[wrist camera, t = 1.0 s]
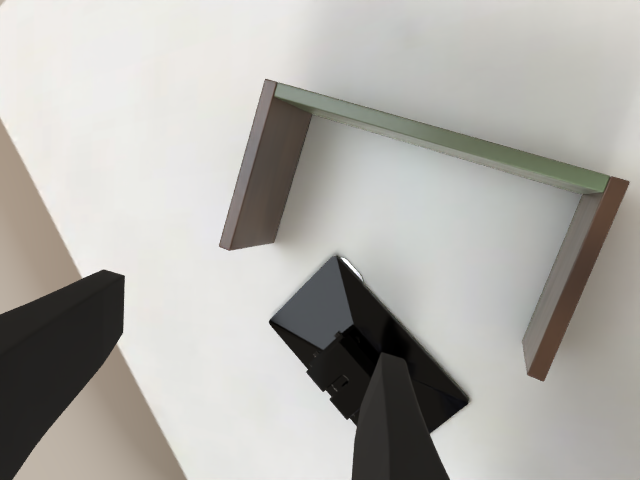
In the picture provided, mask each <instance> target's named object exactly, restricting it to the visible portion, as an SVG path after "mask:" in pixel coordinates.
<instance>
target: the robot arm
mask: <svg viewBox="0 0 640 480" xmlns="http://www.w3.org/2000/svg"><path fill="white" fill-rule="evenodd" d="M124 283H125V276H124V275H121V274H117V273H114V272H111V271H107V270H101V271H99V272H96V273H94V274H92V275H90V276H87V277H85V278H83V279H81V280H79V281H77V282H74V283H72V284H70V285H68V286H66V287H64V288H62V289H59V290H57V291H55V292H52V293H50V294H48V295H46V296H43V297H41V298H39V299H37V300H35V301H32V302H30V303H28V304H25V305H23V306H20V307H18V308H15V309H13V310H10V311H8V312H5V313H3V314H0V480H12V479H13V478H14V476H15V475H16V474H17V472H18V471H19V469H20V468H21V466H22V465H23V463H24V462H25V460H26V459H27V457H28V456H29V455H30V453H31V452H32V450H33V449H34V447H35V446H36V445H37V443H38V442H39V441H40V440H41V438H42V437H43V436H44V434H45V433H46V432H47V430H48V429H49V428H50V427H51V426H52V424H53V423H54V422H55V421H56V420H57V418H58V417H59V416H60V415H61V414H62V412H63V411H64V410H65V409H66V408H67V407H68V406H69V404H70V403H71V402H72V401H73V400H74V398H75V397H76V396H77V395H78V394H79V392H80V391H81V390H82V389H83V388H84V386H85V385H86V384H87V383H88V382H89V380H90V379H91V378H92V377H93V376H94V374H95V373H96V372H97V371H98V369H99V368H100V367H101V366H102V365H103V363H104V362H105V360H106V359H107V357H108V356H109V354H110V352H111V351H112V350H113V348H114V346H115V345H116V343H117V342H118V340H119V338H120V337H121V335H122V334H123V319H124ZM352 480H450V479H449V477H448V475H447V473H446V470H445V468H444V466H443V464H442V462H441V460H440V457H439V455H438V453H437V451H436V448H435V446H434V444H433V441H432V439H431V437H430V434H429V432H428V429H427V426H426V424H425V421H424V418H423V416H422V413H421V410H420V407H419V404H418V401H417V398H416V395H415V392H414V389H413V386H412V382H411V379H410V375H409V371H408V368H407V363H406V362H405V360H404V359H403V358H399V357H396V356H393V355H389V354H386V353H383V352H381V355H380V357H379V360H378V363H377V365H376V368H375V370H374V373H373V375H372V378H371V381H370V383H369V386H368V388H367V391H366V393H365V396H364V399H363V401H362V404H361V408H360V413H359V419H358V424H357V430H356V435H355V441H354V454H353V468H352Z"/></svg>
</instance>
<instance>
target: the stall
mask: <svg viewBox="0 0 640 480" xmlns="http://www.w3.org/2000/svg"><path fill="white" fill-rule="evenodd" d="M312 114H313V115H316V116H319V117H323V118H326V119H329V120H333V121H336V122H339V123H343V124H346V125H349V126H353V127H356V128H360V129H363V130H366V131H370V132H373V133H376V134H380V135H383V136H386V137H390V138H393V139H397V140H400V141H403V142H407V143H410V144H413V145H417V146H420V147H423V148H427V149H430V150H434V151H437V152H440V153H444V154H447V155H450V156H454V157H457V158H460V159H464V160H467V161H470V162H474V163H477V164H481V165H484V166H487V167H491V168H494V169H497V170H501V171H504V172H507V173H511V174H514V175H518V176H521V177H524V178H528V179H531V180H534V181H538V182H541V183H544V184H548V185H551V186H555V187H558V188H561V189H565V190H568V191H571V192H575V193H578V194H583V195H582V198H581V200H580V202H579V205H578V207H577V210H576V212H575V214H574V217H573V219H572V222H571V224H570V227H569V229H568V231H567V234H566V236H565V239H564V241H563V243H562V246H561V248H560V251H559V253H558V255H557V258H556V260H555V263H554V265H553V268H552V270H551V272H550V275H549V277H548V280H547V282H546V284H545V287H544V289H543V292H542V294H541V297H540V299H539V301H538V304H537V306H536V309H535V311H534V313H533V316H532V318H531V321H530V323H529V326H528V328H527V330H526V333H525V335H524V338H523V340H522V344H523V350H524V357H525V363H526V370H527V375H528V376H531V377H533V378H536V379H538V380H540V381H544V380H545V378H546V376H547V373H548V371H549V369H550V366H551V364H552V362H553V359H554V357H555V355H556V353H557V350H558V348H559V346H560V343H561V341H562V339H563V336H564V334H565V332H566V329H567V327H568V325H569V322H570V320H571V318H572V315H573V313H574V311H575V308H576V306H577V304H578V301H579V299H580V297H581V294H582V292H583V290H584V287H585V285H586V283H587V281H588V278H589V276H590V274H591V271H592V269H593V267H594V264H595V262H596V260H597V257H598V255H599V253H600V250H601V248H602V246H603V243H604V241H605V239H606V236H607V234H608V232H609V229H610V227H611V225H612V222H613V220H614V218H615V215H616V213H617V211H618V208H619V206H620V204H621V202H622V199H623V197H624V195H625V192H626V190H627V188H628V185H629V183H630V182H629V181H627V180H623V179H620V178H616V177H613V176H609V175H605V174H602V173H598V172H595V171H591V170H588V169H584V168H581V167H577V166H574V165H570V164H566V163H563V162H559V161H556V160H552V159H549V158H545V157H542V156H538V155H535V154H531V153H527V152H524V151H520V150H517V149H513V148H510V147H506V146H503V145H499V144H495V143H492V142H488V141H485V140H481V139H478V138H474V137H471V136H467V135H464V134H460V133H456V132H453V131H449V130H446V129H442V128H439V127H435V126H432V125H428V124H425V123H421V122H417V121H414V120H410V119H407V118H403V117H400V116H396V115H393V114H389V113H385V112H382V111H378V110H375V109H371V108H368V107H364V106H361V105H357V104H354V103H350V102H346V101H343V100H339V99H336V98H332V97H329V96H325V95H322V94H318V93H314V92H311V91H307V90H304V89H300V88H297V87H293V86H290V85H286V84H283V83H278V82H275V81H272V80H268V79H265V81H264V85H263V89H262V92H261V96H260V99H259V103H258V107H257V110H256V114H255V117H254V121H253V125H252V128H251V132H250V136H249V139H248V143H247V146H246V150H245V154H244V157H243V161H242V164H241V168H240V172H239V175H238V179H237V182H236V186H235V190H234V193H233V197H232V201H231V204H230V208H229V211H228V215H227V219H226V222H225V226H224V229H223V233H222V237H221V240H220V244H219V246H220V247H222V248H224V249H226V250H229V251H231V250H236V249H242V248H247V247H253V246H258V245H264V244H269V243H274V240H275V237H276V234H277V230H278V227H279V224H280V220H281V217H282V214H283V210H284V207H285V204H286V200H287V197H288V194H289V190H290V187H291V183H292V180H293V177H294V173H295V170H296V167H297V163H298V160H299V157H300V153H301V150H302V147H303V143H304V140H305V137H306V133H307V130H308V127H309V123H310V120H311V116H312Z"/></svg>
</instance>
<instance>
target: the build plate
mask: <svg viewBox="0 0 640 480" xmlns="http://www.w3.org/2000/svg"><path fill="white" fill-rule="evenodd" d="M269 324H270V325H271V327H272V328H273V329H274V330H275V331H276V332H277V334H278V335H279V336H280V337H281V338H282V339H283V341H284V342H285V343H286V344H287V345H288V346H289V348H290V349H291V350H292V351H293V352H294V353H295V355H296V356H297V357H298V358H299V359H300V360H301V362H302V363H303V364H304V365H305V366H306V367H307V369H308V371H307V372H306V373H307V374H308V375H309V376H310V377H311V379H312V380H313V381H314V382H315V383H316V384H317V386H318V387H319V388H320V389H321V390H322V391H323V392H324V391H325V390H326V391H327V392H328V393H329V394H330V395H331V398H330V401H331V402H332V403H333V404H334V406H335V407H336V408H337V409H338V410H339V411H340V413H341V414H342V415H343V416H344V417H345V418H346V420H348V419H349V418H350V419H351V420H352V421H353V422H354V424H355V425H356V426H357V424H358V419H359V413H360V408H361V404H362V401H363V399H364V396H365V393H366V391H367V388H368V386H369V383H370V381H371V378H372V375H373V373H374V370H375V368H376V365H377V363H378V360H379V357H380V355H381V352H383V353H386V354H389V355H393V356H396V357H399V358H403V359H404V360H405V362H406V363H407V368H408V371H409V375H410V379H411V382H412V386H413V389H414V392H415V395H416V398H417V401H418V404H419V407H420V410H421V413H422V416H423V418H424V421H425V424H426V426H427V429H428V432H429V434H430V433H431V432H433V431H434V430H435V429H436V428H438V427H439V426H440V425H441V424H443V423H444V422H445V421H447V420H448V419H449V418H450V417H452V416H453V415H454V414H456V413H457V412H458V411H459V410H461V409H462V408H463V407H464V406H466V405H467V404H468V402H469V398H468V396H467V395H466V394H465V393H464V392H463V391H462V390H461V389H460V388H459V386H458V385H457V384H456V383H455V382H454V381H453V380H452V379H451V378H450V377H449V376H448V375H447V373H446V372H445V371H444V370H443V369H442V368H441V367H440V366H439V365H438V364H437V363H436V362H435V360H434V359H433V358H432V357H431V356H430V355H429V354H428V353H427V352H426V351H425V350H424V349H423V347H422V346H421V345H420V344H419V343H418V342H417V341H416V340H415V339H414V338H413V337H412V336H411V334H410V333H409V332H408V331H407V330H406V329H405V328H404V327H403V326H402V325H401V324H400V323H399V321H398V320H397V319H396V318H395V317H394V316H393V315H392V314H391V313H390V312H389V311H388V310H387V308H386V307H385V306H384V305H383V304H382V303H381V302H380V301H379V300H378V299H377V298H376V297H375V295H374V294H373V293H372V292H371V291H370V290H369V289H368V288H367V287H366V286H365V285H364V283H363V279H362V276H361V275H360V273H359V272H358V271H357V270H356V269H355V268H354V267H353V266H352V265H351V264H350V263H349V262H348V261H347V259H345V258H341V257H338V256H333V257H331V258H330V259H329V260H328V261H327V262H326V263H325V264H324V265H323V266H322V267H321V269H320V270H319V271H318V272H317V273H316V274H315V275H314V276H313V277H312V278H311V279H310V280H309V281H308V282H307V283H306V284H305V285H304V286H303V287H302V288H301V289H300V290H299V291H298V292H297V293H296V294H295V295H294V296H293V297H292V298H291V299H290V300H289V301H288V302H287V303H286V304H285V305H284V306H283V307H282V308H281V309H280V310H279V311H278V312H277V313H276V314H275V315H274V316H273V317H272V318H271V319H270V320H269Z"/></svg>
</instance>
